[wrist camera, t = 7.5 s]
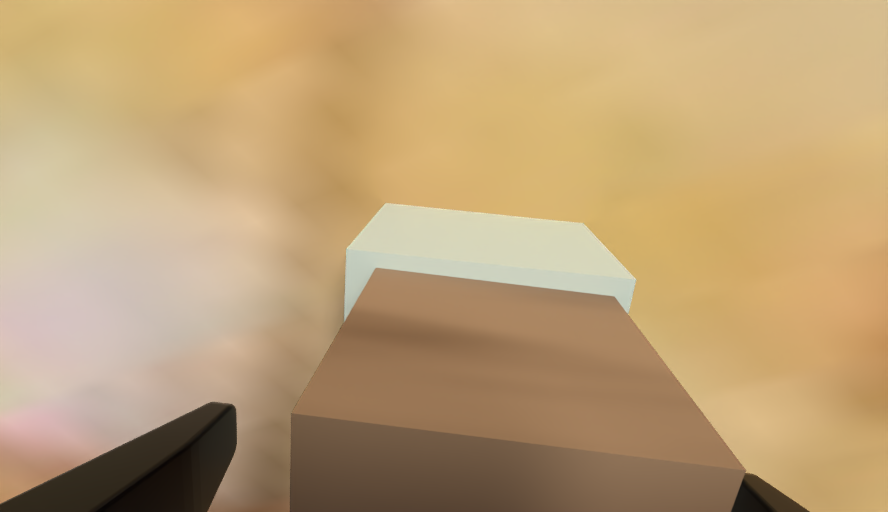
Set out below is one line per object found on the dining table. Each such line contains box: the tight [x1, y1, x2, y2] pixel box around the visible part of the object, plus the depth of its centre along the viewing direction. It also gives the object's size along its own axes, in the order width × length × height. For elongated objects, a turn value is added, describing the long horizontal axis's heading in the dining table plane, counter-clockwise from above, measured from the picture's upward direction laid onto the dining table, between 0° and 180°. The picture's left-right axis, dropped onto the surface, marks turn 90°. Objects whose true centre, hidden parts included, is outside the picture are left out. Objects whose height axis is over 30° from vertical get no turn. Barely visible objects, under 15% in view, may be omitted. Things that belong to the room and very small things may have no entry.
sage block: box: [344, 203, 636, 322], centre depth 13 cm, size 6×6×5 cm
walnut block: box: [290, 268, 746, 512], centre depth 8 cm, size 5×5×5 cm
